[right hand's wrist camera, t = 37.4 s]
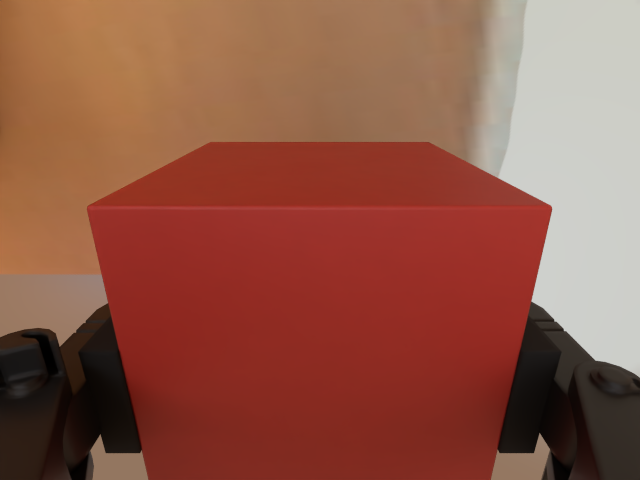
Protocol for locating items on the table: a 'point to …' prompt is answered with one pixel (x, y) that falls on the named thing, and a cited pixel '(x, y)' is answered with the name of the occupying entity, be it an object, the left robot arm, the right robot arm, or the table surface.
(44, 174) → the table surface
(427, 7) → the table surface
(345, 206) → the block
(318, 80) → the table surface
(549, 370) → the right robot arm
